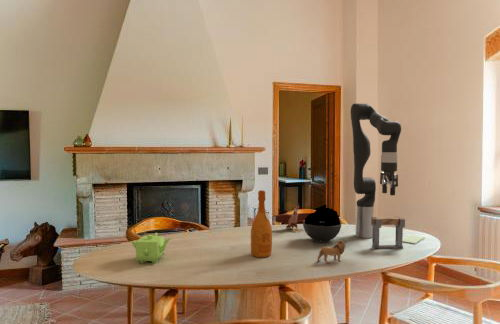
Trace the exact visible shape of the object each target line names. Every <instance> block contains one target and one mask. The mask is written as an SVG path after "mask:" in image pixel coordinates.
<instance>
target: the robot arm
mask: <svg viewBox="0 0 500 324" xmlns="http://www.w3.org/2000/svg"><path fill="white" fill-rule="evenodd" d="M350 120H351V127H352V128H351V129H352V144H353V145H352V147H353V165H354V166H353V167H354V169H353V189H354V192H355V193H356V194H357V195H364V196H363V197H362V198H359V199H357V201H356V217H355V237H356V238H363V239H372V237H373V226H372V225H371V217H375V214H374V213H375V209H374V207H375V200H376V190H377V189H376V188H377V185H376V181H375V179H374V178H373V177H364V175H363V174H364V168H365V166H366V164H367V162H368V160H369V158H370V156H371V151H372V150H371V142H370V139H369V138H368V135H366V133H365V132H364V130H363V128H362V126H361V121H365V120H368V121H369V125H371V126H372V127H374V128H375V129H376V130H377V132H378V134H380V135H381V136H390V137H389V139H385V140H383V141H382V143H381V155H380V171H381V172H380V174H379V176H380V177H379V184H380V185H381V193H382V194H387V193H388V185H389V194H390V196H395V195H396V188H397V187H398V186H399V175H398V173H395V172H398V142H399V138H400V136H401V132H402V125H401V123H400V122H399V121H396V120H389V119H388V118H387V117H385V116H384V115H382V114H381V113H379V112H378V111H377V110H376V109H375V108H374V107H373V106H372V105H371V104H369V103H357V102H356V103H353V104H352V105H351V106H350Z"/></svg>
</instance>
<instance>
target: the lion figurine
mask: <svg viewBox="0 0 500 324" xmlns="http://www.w3.org/2000/svg"><path fill="white" fill-rule="evenodd" d="M345 248H346V243H345V241H344V240H342V239H340V240H337V241H336V242H335V244H334V245H333V247H328V246H324V247H322V248H321V249H320V250H319V253H318V256H317V261H316V263H320V262H321V258H322V257H324V258H323V260H324V262H325V263H326V264H327V265H328V264H330V262H329V261H328V260H327V259H328V257H329V256H331V257H333V261H334V262H336V261H337V262H338V263H342V261H341V255H342V254H344V253H345Z"/></svg>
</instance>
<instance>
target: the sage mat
mask: <svg viewBox="0 0 500 324" xmlns="http://www.w3.org/2000/svg"><path fill="white" fill-rule="evenodd" d="M424 239H425V236H419V235H413V234H409V235H406V236H405V237H403V239H402V243H404V244H409V245H410V244H412V245H417V244H419V243H420V242H421V241H422V240H424Z"/></svg>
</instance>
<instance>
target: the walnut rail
mask: <svg viewBox="0 0 500 324" xmlns="http://www.w3.org/2000/svg"><path fill="white" fill-rule="evenodd" d="M376 219H381V226H391V225H392V226H396V225H399V219H404V217H400V218H394V217H377V218H372V224H373V225H376Z"/></svg>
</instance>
